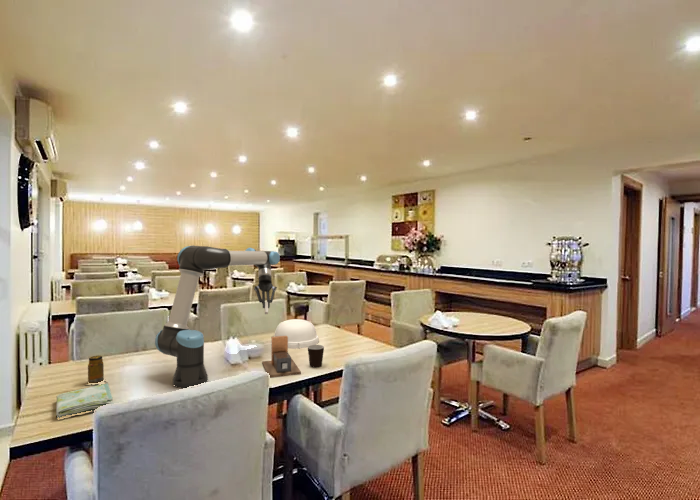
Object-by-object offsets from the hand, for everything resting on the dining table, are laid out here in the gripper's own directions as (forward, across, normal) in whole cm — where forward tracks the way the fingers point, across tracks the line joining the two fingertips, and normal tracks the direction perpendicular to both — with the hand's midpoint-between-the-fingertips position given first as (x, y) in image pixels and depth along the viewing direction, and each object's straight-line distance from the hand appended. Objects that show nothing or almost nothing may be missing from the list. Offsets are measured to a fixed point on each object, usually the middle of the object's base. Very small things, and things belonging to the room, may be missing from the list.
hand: (266, 312), depth 221 cm
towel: (+49, +75, +11) cm, 91 cm away
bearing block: (+34, -6, +4) cm, 35 cm away
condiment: (+32, +77, -9) cm, 84 cm away
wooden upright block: (+33, -6, +3) cm, 33 cm away
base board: (+32, -6, 0) cm, 33 cm away
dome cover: (+1, -24, -37) cm, 44 cm away
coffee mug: (+31, -25, 0) cm, 40 cm away
